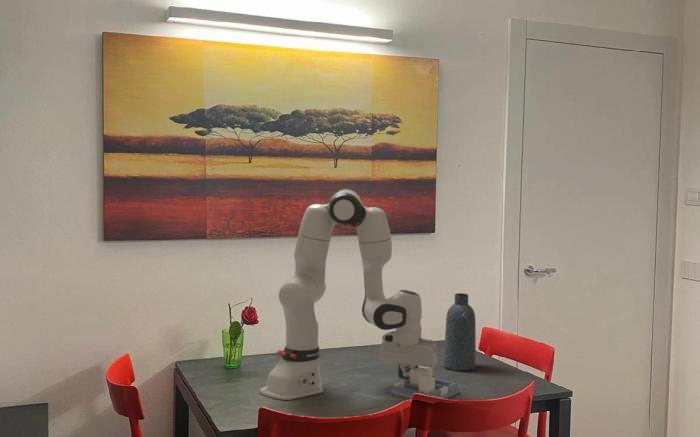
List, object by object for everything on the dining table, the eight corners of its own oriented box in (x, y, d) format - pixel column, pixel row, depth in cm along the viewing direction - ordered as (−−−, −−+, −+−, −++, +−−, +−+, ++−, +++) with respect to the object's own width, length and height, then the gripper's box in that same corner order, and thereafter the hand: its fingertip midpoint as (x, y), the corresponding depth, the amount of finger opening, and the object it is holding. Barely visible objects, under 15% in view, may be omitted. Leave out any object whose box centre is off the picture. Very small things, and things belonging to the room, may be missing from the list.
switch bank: (433, 404, 253) (433, 394, 252) (390, 393, 263) (390, 384, 263) (460, 392, 266) (460, 383, 266) (418, 382, 276) (418, 374, 276)
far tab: (426, 385, 269) (427, 368, 268) (417, 383, 271) (417, 366, 271) (432, 383, 271) (432, 366, 271) (422, 381, 274) (423, 364, 273)
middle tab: (419, 389, 264) (419, 372, 263) (409, 387, 266) (410, 370, 266) (425, 387, 267) (425, 370, 266) (415, 385, 269) (415, 368, 269)
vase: (474, 363, 304) (476, 292, 301) (476, 372, 292) (478, 297, 289) (443, 362, 305) (445, 291, 303) (443, 370, 293) (445, 296, 291)
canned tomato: (401, 380, 279) (402, 350, 278) (394, 374, 287) (395, 345, 286) (422, 379, 281) (423, 349, 280) (415, 373, 289) (415, 344, 288)
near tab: (428, 397, 255) (429, 379, 254) (418, 395, 257) (419, 377, 257) (434, 395, 258) (435, 377, 257) (424, 393, 260) (424, 375, 260)
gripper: (440, 338, 266) (439, 378, 268) (384, 332, 275) (384, 370, 276) (434, 342, 261) (433, 382, 262) (377, 335, 269) (377, 374, 270)
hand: (407, 376), depth 269 cm, fingers closed
